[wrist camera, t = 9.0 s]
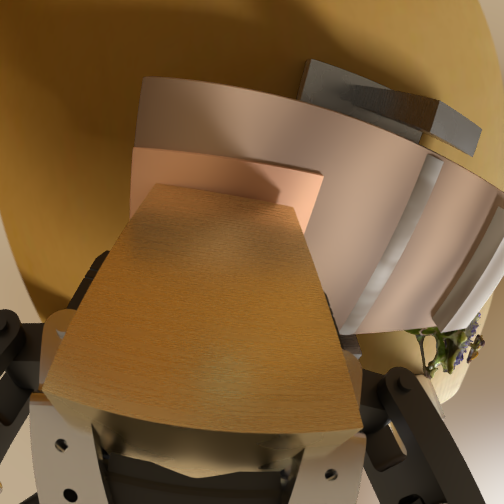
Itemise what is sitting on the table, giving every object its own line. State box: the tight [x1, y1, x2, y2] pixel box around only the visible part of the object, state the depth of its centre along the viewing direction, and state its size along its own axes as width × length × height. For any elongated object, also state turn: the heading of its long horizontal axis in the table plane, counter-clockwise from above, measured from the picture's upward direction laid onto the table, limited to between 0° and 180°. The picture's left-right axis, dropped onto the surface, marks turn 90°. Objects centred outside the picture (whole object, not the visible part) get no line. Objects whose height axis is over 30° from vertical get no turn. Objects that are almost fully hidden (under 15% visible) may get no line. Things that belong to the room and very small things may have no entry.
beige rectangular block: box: [42, 183, 363, 478], centre depth 8 cm, size 5×5×8 cm
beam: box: [130, 76, 504, 335], centre depth 14 cm, size 25×12×4 cm, turn 78°
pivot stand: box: [296, 59, 482, 359], centre depth 18 cm, size 10×18×11 cm, turn 167°
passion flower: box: [404, 312, 485, 379], centre depth 28 cm, size 11×11×12 cm
